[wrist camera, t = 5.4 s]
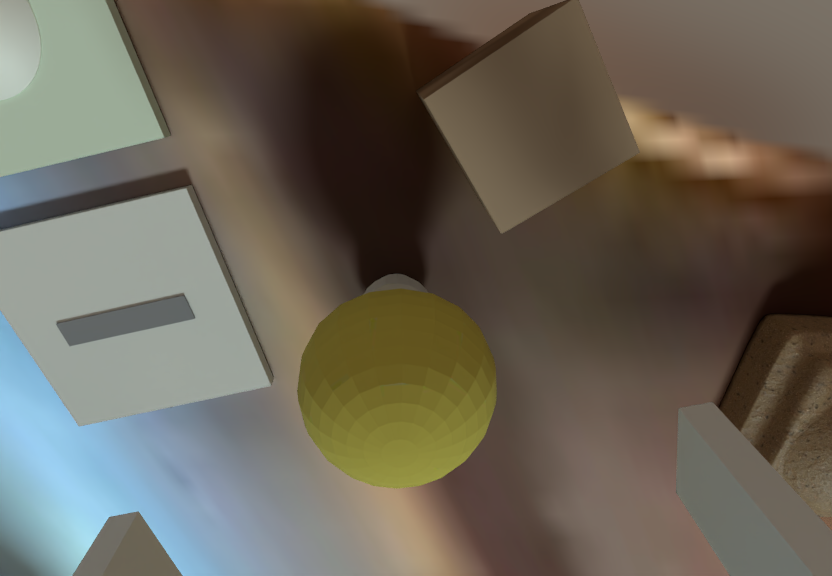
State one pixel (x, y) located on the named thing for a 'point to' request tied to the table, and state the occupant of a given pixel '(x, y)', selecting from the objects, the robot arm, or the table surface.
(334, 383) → the light bulb
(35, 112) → the pad
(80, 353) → the pad
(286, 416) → the table surface
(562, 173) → the walnut block
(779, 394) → the candle holder
